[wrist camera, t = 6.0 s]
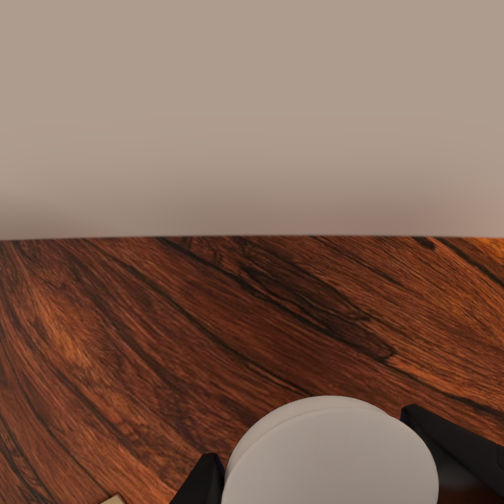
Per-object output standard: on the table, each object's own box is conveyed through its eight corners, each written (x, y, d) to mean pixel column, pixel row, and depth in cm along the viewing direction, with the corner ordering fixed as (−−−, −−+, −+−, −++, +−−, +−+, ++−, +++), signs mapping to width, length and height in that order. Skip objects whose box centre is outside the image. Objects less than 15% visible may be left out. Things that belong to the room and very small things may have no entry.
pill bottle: (324, 384, 15) (368, 327, 7) (388, 464, 12) (499, 496, 4) (229, 446, 14) (145, 470, 5) (293, 528, 11) (291, 637, 3)
